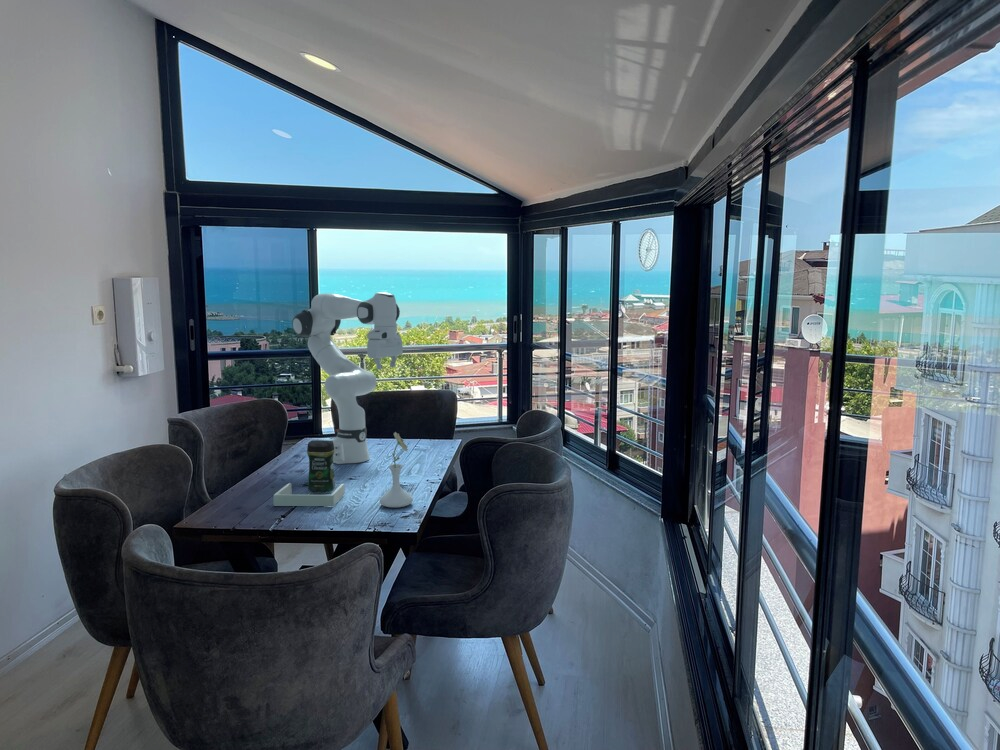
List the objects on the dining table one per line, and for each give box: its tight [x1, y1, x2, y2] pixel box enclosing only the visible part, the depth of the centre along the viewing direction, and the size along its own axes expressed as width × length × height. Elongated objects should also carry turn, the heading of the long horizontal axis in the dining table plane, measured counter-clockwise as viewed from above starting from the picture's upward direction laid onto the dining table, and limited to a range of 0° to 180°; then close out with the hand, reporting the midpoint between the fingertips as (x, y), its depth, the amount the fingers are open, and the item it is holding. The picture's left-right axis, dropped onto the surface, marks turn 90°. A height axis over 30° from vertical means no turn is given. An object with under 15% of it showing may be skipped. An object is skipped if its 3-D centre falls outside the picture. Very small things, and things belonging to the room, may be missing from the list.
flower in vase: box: [379, 431, 414, 509], centre depth 223 cm, size 13×11×25 cm
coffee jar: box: [306, 439, 336, 492], centre depth 242 cm, size 10×8×19 cm
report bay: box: [272, 482, 346, 508], centre depth 229 cm, size 14×20×4 cm
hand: (386, 368), depth 260 cm, fingers open, 8 cm apart
